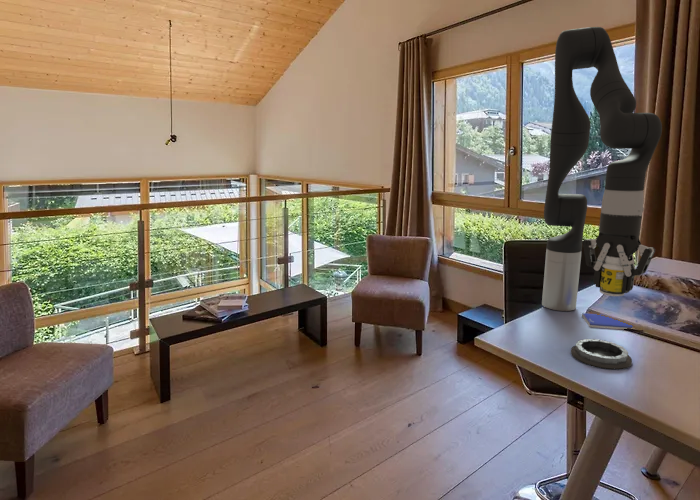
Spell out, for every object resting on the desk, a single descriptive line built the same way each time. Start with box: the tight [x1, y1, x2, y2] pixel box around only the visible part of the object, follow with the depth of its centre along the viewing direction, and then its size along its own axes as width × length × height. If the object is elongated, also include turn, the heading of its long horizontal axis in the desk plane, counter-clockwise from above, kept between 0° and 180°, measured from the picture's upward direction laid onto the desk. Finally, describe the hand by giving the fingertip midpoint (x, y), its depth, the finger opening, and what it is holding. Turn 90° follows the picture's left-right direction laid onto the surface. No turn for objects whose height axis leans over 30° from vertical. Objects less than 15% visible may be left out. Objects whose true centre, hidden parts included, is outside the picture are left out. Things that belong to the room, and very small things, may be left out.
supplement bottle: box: [599, 256, 625, 297], centre depth 97 cm, size 5×5×8 cm
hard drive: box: [581, 312, 633, 330], centre depth 120 cm, size 2×8×12 cm
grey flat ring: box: [570, 338, 633, 371], centre depth 101 cm, size 12×12×2 cm
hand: (612, 289), depth 98 cm, fingers closed on supplement bottle, 4 cm apart
